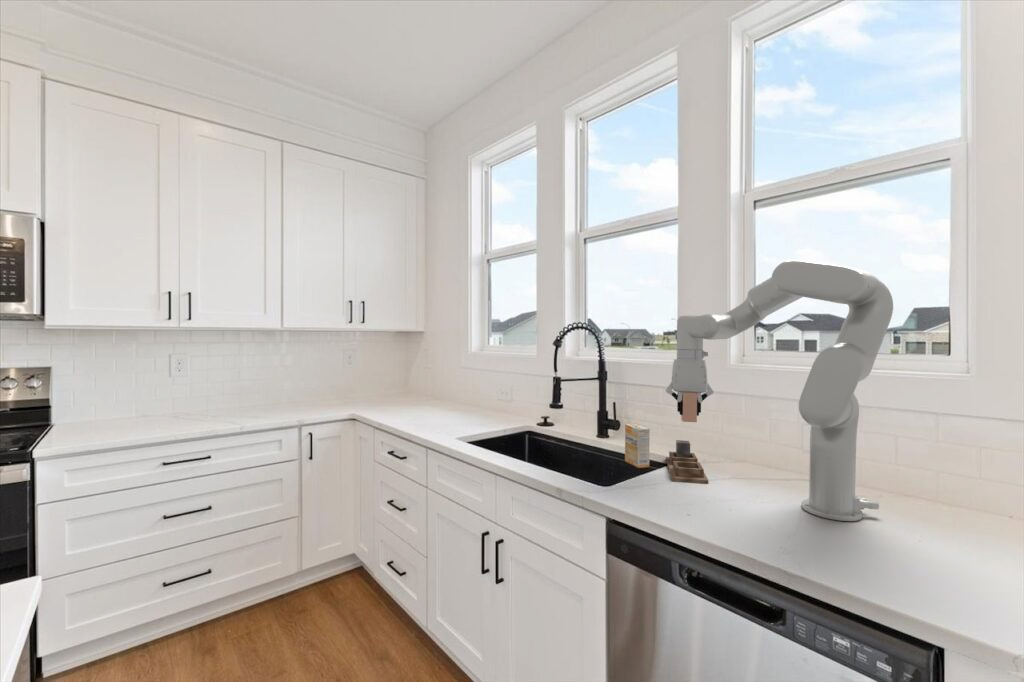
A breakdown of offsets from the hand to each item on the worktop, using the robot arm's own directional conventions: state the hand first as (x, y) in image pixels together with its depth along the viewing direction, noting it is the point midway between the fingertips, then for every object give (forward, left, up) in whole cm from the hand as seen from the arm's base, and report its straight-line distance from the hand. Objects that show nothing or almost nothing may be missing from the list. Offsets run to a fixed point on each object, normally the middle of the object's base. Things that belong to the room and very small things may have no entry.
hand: (688, 413), depth 145 cm
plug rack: (0, -6, -19) cm, 20 cm away
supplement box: (+15, -10, -20) cm, 27 cm away
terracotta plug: (0, 0, -2) cm, 2 cm away
